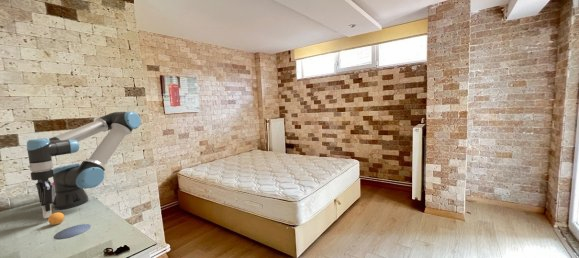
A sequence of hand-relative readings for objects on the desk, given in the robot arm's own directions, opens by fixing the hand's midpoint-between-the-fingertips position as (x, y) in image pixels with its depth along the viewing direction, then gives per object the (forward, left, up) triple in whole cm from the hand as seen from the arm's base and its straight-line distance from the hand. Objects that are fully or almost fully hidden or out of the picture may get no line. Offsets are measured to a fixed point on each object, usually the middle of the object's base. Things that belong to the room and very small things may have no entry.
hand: (47, 217), depth 114 cm
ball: (+5, +6, +1) cm, 8 cm away
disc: (+17, +18, -2) cm, 25 cm away
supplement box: (-33, -14, -2) cm, 36 cm away
